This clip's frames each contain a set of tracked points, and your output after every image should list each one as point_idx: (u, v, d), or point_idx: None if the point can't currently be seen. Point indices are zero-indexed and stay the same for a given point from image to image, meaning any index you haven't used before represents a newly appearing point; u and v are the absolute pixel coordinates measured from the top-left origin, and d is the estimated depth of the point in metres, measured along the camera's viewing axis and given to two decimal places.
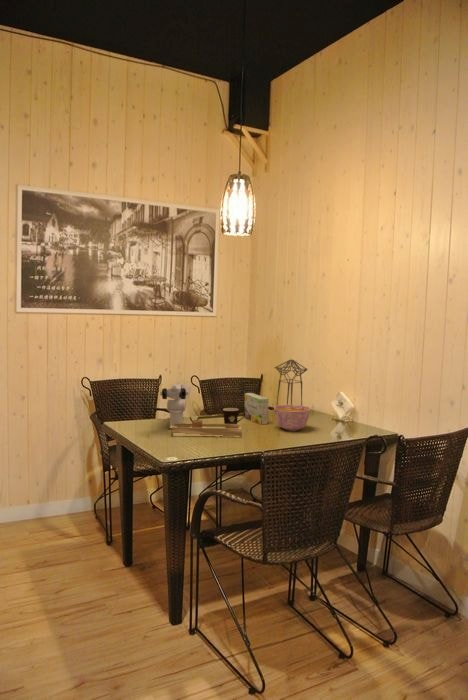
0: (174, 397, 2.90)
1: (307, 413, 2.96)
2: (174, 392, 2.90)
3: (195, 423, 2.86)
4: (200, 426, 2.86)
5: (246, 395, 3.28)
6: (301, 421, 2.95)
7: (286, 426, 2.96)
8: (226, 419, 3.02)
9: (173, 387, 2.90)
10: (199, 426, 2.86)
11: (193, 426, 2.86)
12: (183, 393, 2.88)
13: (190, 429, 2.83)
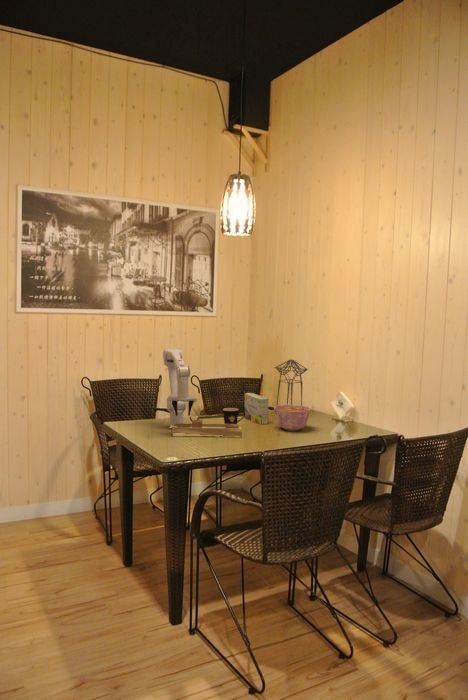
0: None
1: (307, 413, 2.96)
2: None
3: (195, 423, 2.86)
4: (200, 426, 2.86)
5: (246, 395, 3.28)
6: (301, 421, 2.95)
7: (286, 426, 2.96)
8: (226, 419, 3.02)
9: (181, 400, 2.84)
10: (199, 426, 2.86)
11: (193, 426, 2.86)
12: None
13: (190, 429, 2.83)
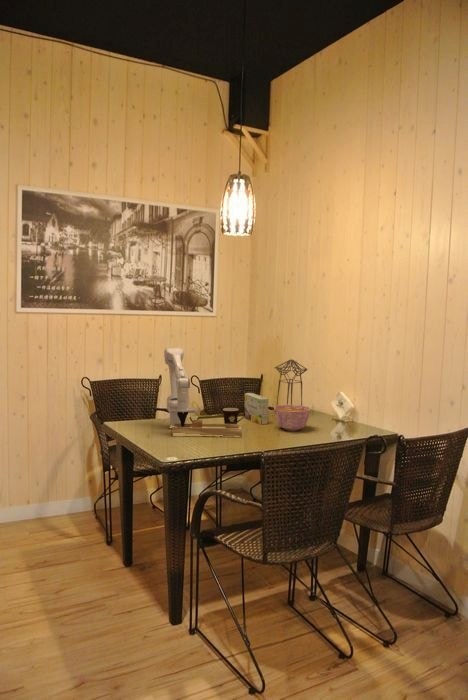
0: None
1: (307, 413, 2.96)
2: None
3: (195, 423, 2.86)
4: (200, 426, 2.86)
5: (246, 395, 3.28)
6: (301, 421, 2.95)
7: (286, 426, 2.96)
8: (226, 419, 3.02)
9: None
10: (199, 426, 2.86)
11: (193, 426, 2.86)
12: None
13: (190, 429, 2.83)
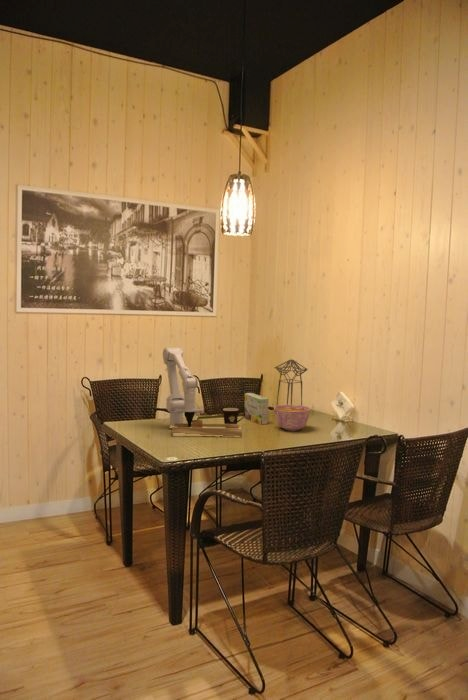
0: None
1: (307, 413, 2.96)
2: None
3: (195, 423, 2.86)
4: (200, 426, 2.86)
5: (246, 395, 3.28)
6: (301, 421, 2.95)
7: (286, 426, 2.96)
8: (226, 419, 3.02)
9: (188, 411, 2.85)
10: (199, 426, 2.86)
11: (193, 426, 2.86)
12: None
13: (190, 429, 2.83)
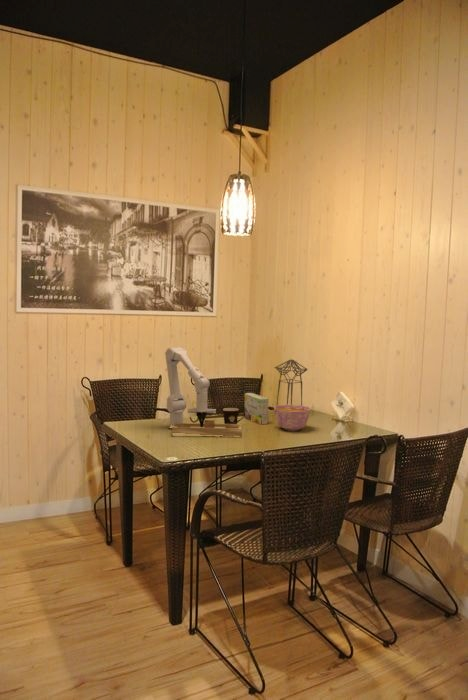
0: None
1: (307, 413, 2.96)
2: None
3: (207, 423, 2.86)
4: (212, 426, 2.86)
5: (246, 395, 3.28)
6: (301, 421, 2.95)
7: (286, 426, 2.96)
8: (226, 419, 3.02)
9: (200, 411, 2.84)
10: (211, 426, 2.86)
11: (205, 426, 2.86)
12: None
13: (190, 429, 2.83)
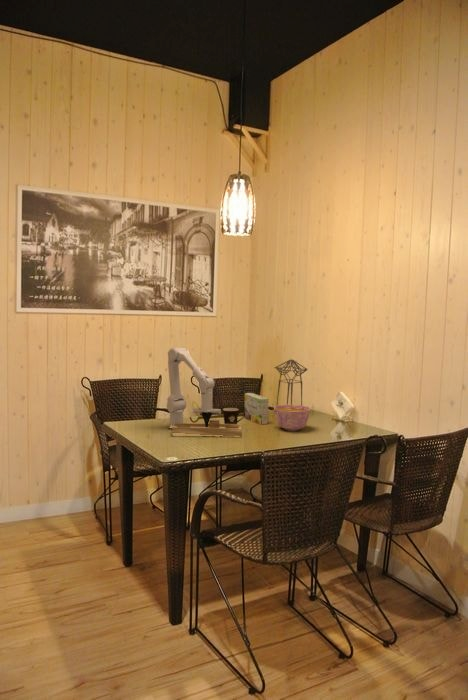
0: None
1: (307, 413, 2.96)
2: None
3: (212, 423, 2.85)
4: (217, 426, 2.86)
5: (246, 395, 3.28)
6: (301, 421, 2.95)
7: (286, 426, 2.96)
8: (226, 419, 3.02)
9: (205, 411, 2.84)
10: (216, 426, 2.86)
11: (210, 426, 2.86)
12: None
13: (190, 429, 2.83)
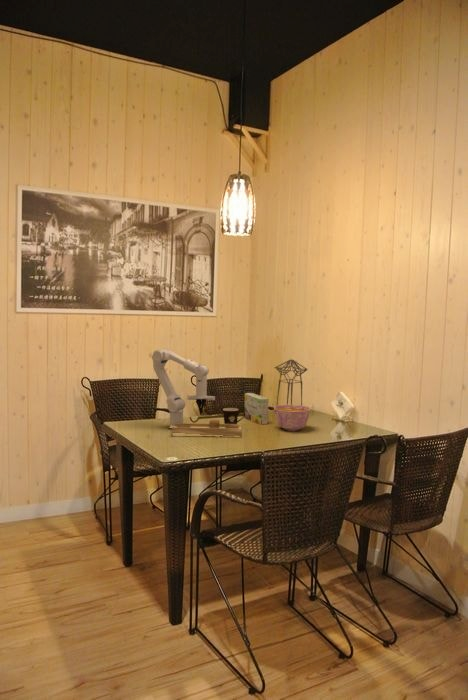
0: None
1: (307, 413, 2.96)
2: None
3: (212, 423, 2.85)
4: (217, 426, 2.86)
5: (246, 395, 3.28)
6: (301, 421, 2.95)
7: (286, 426, 2.96)
8: (226, 419, 3.02)
9: (199, 398, 2.93)
10: (216, 426, 2.86)
11: (210, 426, 2.86)
12: None
13: (190, 429, 2.83)
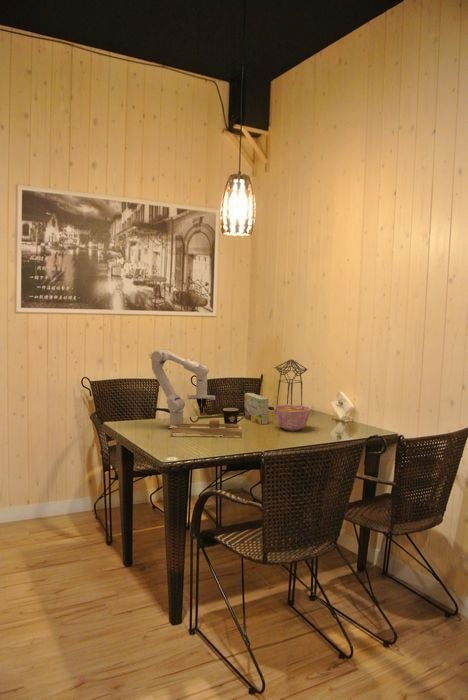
0: None
1: (307, 413, 2.96)
2: None
3: (212, 423, 2.85)
4: (217, 426, 2.86)
5: (246, 395, 3.28)
6: (301, 421, 2.95)
7: (286, 426, 2.96)
8: (226, 419, 3.02)
9: (200, 398, 2.94)
10: (216, 426, 2.86)
11: (210, 426, 2.86)
12: None
13: (190, 429, 2.83)
